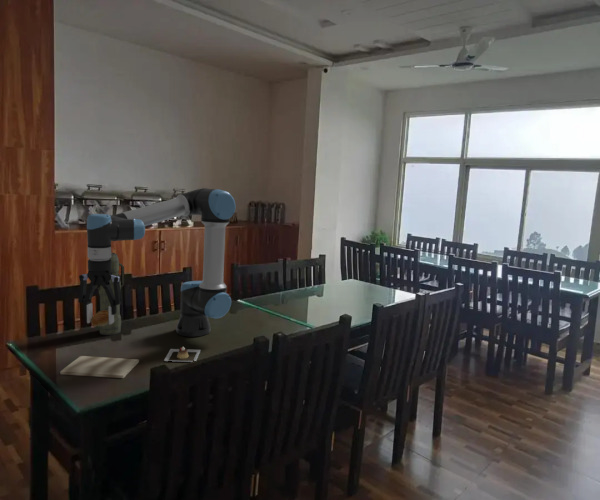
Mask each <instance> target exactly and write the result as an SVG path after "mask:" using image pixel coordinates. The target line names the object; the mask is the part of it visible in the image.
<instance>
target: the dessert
mask: <svg viewBox="0 0 600 500" xmlns="http://www.w3.org/2000/svg"><path fill="white" fill-rule="evenodd" d="M174 352H177V355H176V358H177V359H181V360H171V361H172V363H173V362H176V363H178V362H179V363H183V362H184V363H194V362H193V360H194V361H196V362H197V360H198V358H199V355H200V353H201V349H187V348H185V347H184V346H182V347H180V348H170V349H169V351H168V353H167V354H166V356H165V358H164V360H163V361H164V362H168V361H170V358H171V356H172V354H173V353H174ZM189 353H196V354H195V356H194V358H193V360H184V359H188V358H189V356H190V355H189Z"/></svg>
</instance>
